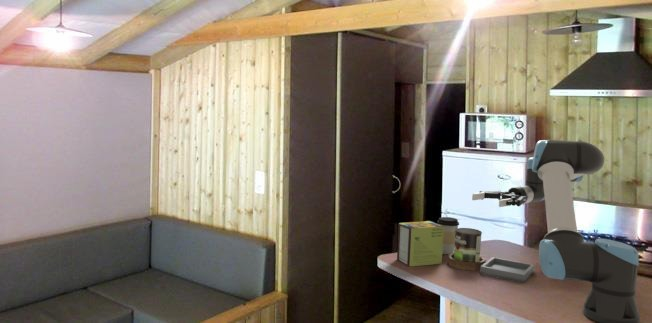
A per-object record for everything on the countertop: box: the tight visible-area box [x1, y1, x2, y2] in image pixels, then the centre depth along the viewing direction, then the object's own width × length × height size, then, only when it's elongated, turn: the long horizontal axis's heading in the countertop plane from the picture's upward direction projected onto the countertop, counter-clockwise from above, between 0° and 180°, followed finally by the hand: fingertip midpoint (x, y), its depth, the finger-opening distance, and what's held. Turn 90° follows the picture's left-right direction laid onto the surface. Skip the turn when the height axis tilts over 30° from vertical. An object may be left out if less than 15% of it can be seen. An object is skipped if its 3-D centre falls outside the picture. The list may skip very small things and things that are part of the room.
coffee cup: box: [436, 216, 460, 255], centre depth 220 cm, size 9×9×15 cm
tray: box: [479, 256, 535, 284], centre depth 194 cm, size 16×16×3 cm
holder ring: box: [447, 253, 487, 272], centre depth 203 cm, size 14×14×3 cm
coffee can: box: [454, 227, 483, 262], centre depth 203 cm, size 10×10×14 cm
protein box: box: [396, 220, 444, 267], centre depth 206 cm, size 10×15×16 cm
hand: (485, 200), depth 205 cm, fingers open, 13 cm apart
